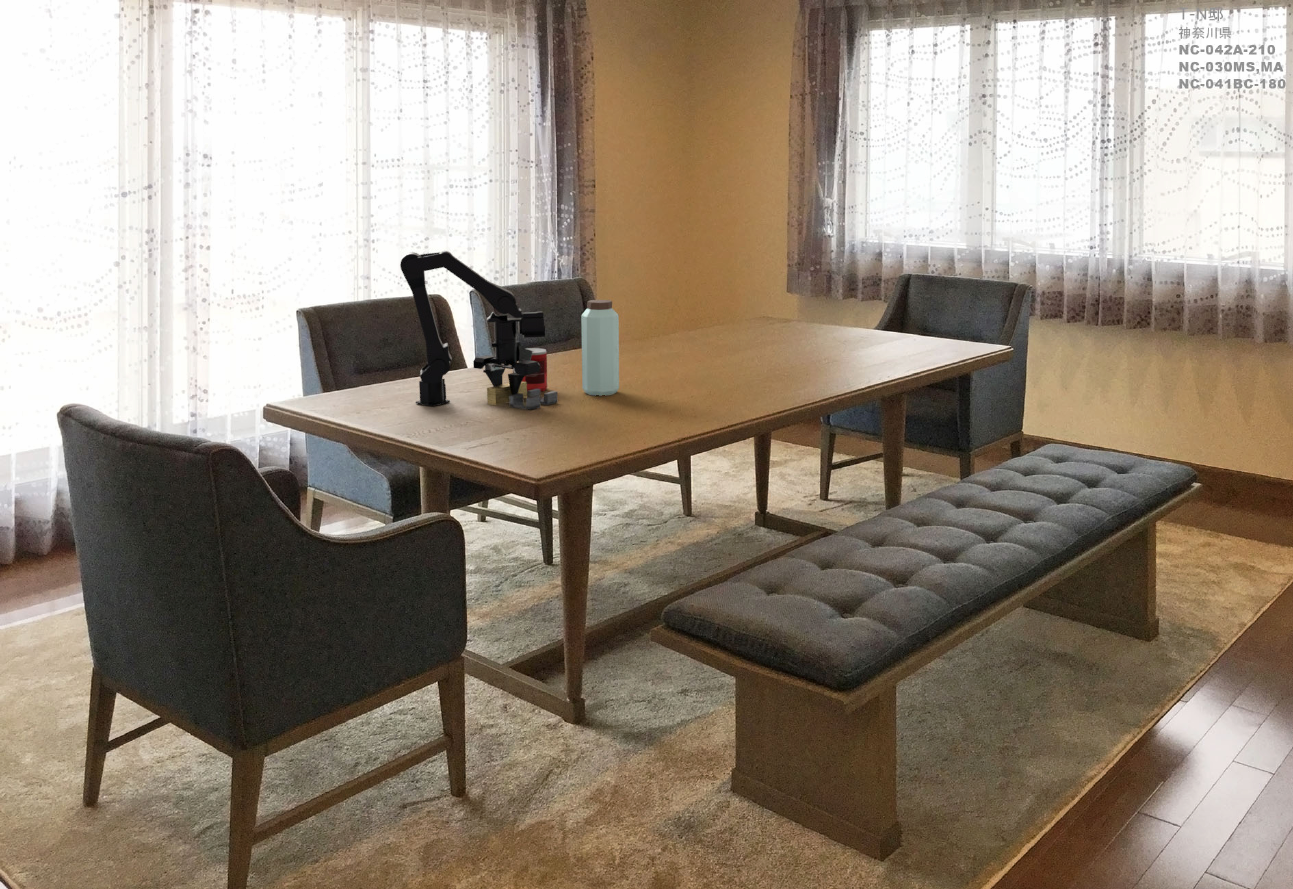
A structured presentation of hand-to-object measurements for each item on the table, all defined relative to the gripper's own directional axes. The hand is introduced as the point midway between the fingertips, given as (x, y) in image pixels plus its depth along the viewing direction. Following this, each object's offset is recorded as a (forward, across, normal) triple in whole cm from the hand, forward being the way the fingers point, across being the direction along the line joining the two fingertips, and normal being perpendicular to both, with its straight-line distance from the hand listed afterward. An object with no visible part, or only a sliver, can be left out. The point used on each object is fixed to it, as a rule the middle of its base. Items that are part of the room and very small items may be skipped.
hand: (507, 397), depth 329 cm
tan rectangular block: (+1, 0, 0) cm, 1 cm away
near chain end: (+1, -9, +4) cm, 10 cm away
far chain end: (+1, -9, -4) cm, 10 cm away
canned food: (+1, +4, -16) cm, 16 cm away
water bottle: (+1, -14, -22) cm, 27 cm away
